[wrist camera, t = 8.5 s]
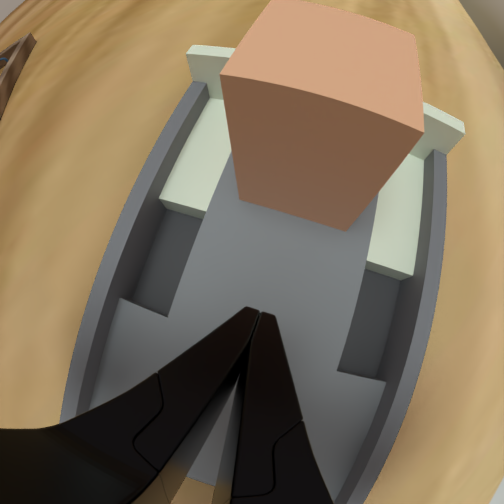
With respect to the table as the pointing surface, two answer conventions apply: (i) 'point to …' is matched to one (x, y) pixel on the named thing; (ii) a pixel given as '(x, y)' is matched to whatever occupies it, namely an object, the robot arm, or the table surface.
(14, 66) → the walnut glasses tray
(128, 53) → the table surface
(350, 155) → the terracotta block
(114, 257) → the box
